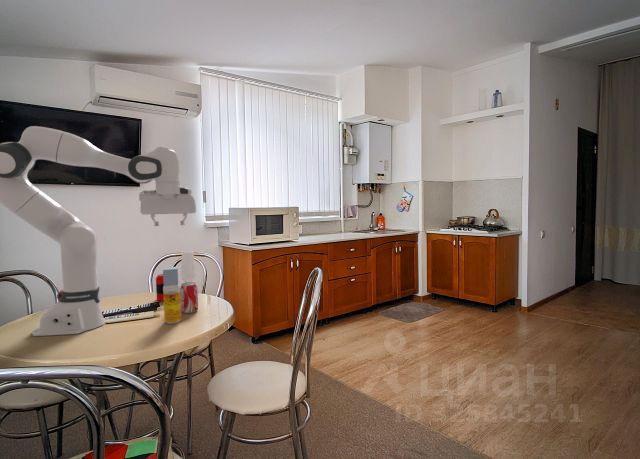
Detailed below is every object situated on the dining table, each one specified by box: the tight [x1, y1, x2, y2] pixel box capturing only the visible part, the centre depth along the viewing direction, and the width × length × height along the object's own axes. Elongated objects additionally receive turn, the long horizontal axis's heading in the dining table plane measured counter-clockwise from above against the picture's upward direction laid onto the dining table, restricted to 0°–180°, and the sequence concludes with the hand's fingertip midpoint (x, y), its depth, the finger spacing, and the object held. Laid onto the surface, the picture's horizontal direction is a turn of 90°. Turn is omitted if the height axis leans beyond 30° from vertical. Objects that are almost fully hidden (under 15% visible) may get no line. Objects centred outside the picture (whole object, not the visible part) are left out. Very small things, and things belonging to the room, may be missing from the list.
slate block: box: [162, 266, 180, 286], centre depth 145 cm, size 5×5×6 cm
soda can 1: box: [155, 273, 164, 303], centre depth 179 cm, size 8×8×12 cm
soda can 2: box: [180, 281, 199, 314], centre depth 159 cm, size 7×7×12 cm
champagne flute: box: [180, 250, 197, 283], centre depth 169 cm, size 7×7×24 cm
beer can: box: [163, 282, 182, 325], centre depth 146 cm, size 6×6×15 cm
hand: (169, 225), depth 148 cm, fingers open, 8 cm apart
